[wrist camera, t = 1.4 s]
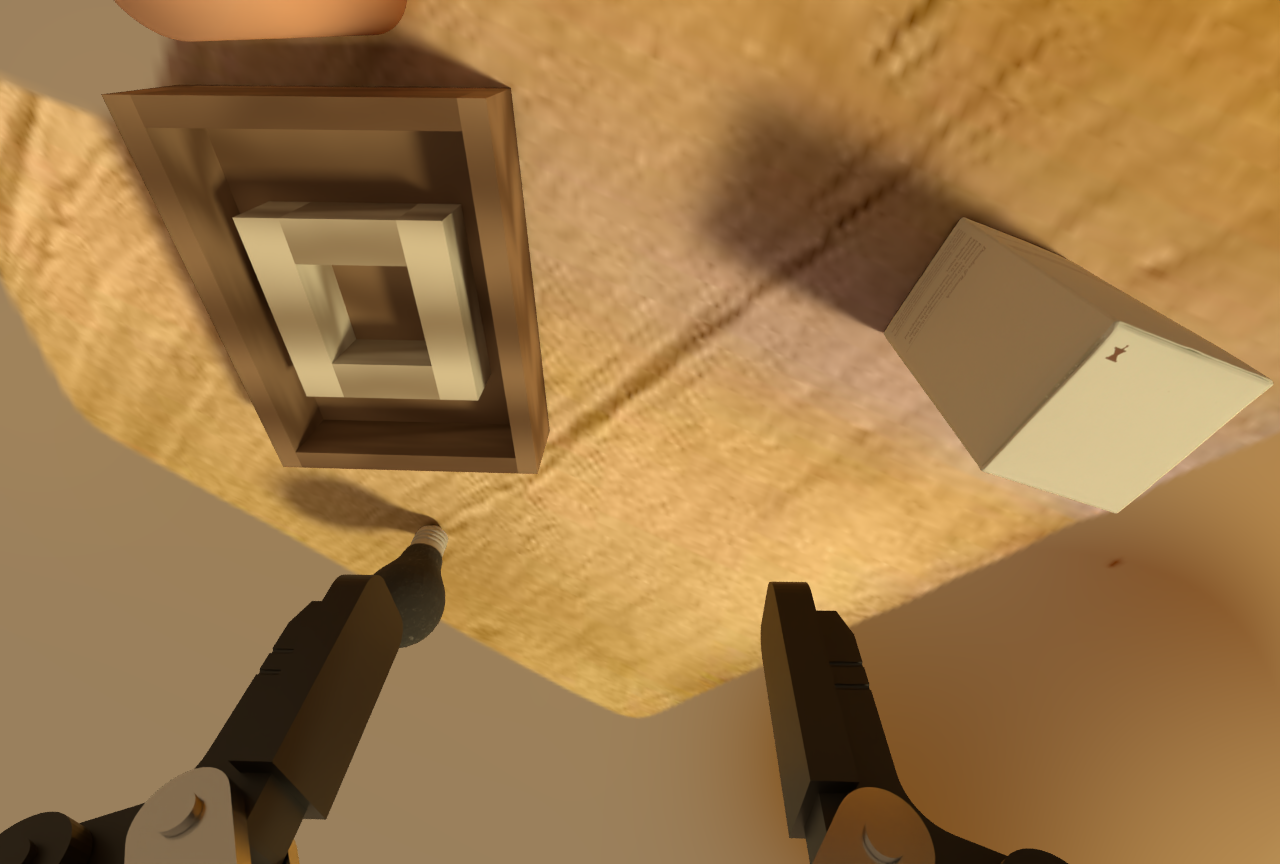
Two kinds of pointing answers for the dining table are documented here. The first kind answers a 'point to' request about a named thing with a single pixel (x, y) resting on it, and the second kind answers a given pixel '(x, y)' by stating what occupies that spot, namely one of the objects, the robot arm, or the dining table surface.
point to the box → (357, 264)
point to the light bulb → (418, 584)
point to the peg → (264, 18)
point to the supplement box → (1061, 370)
